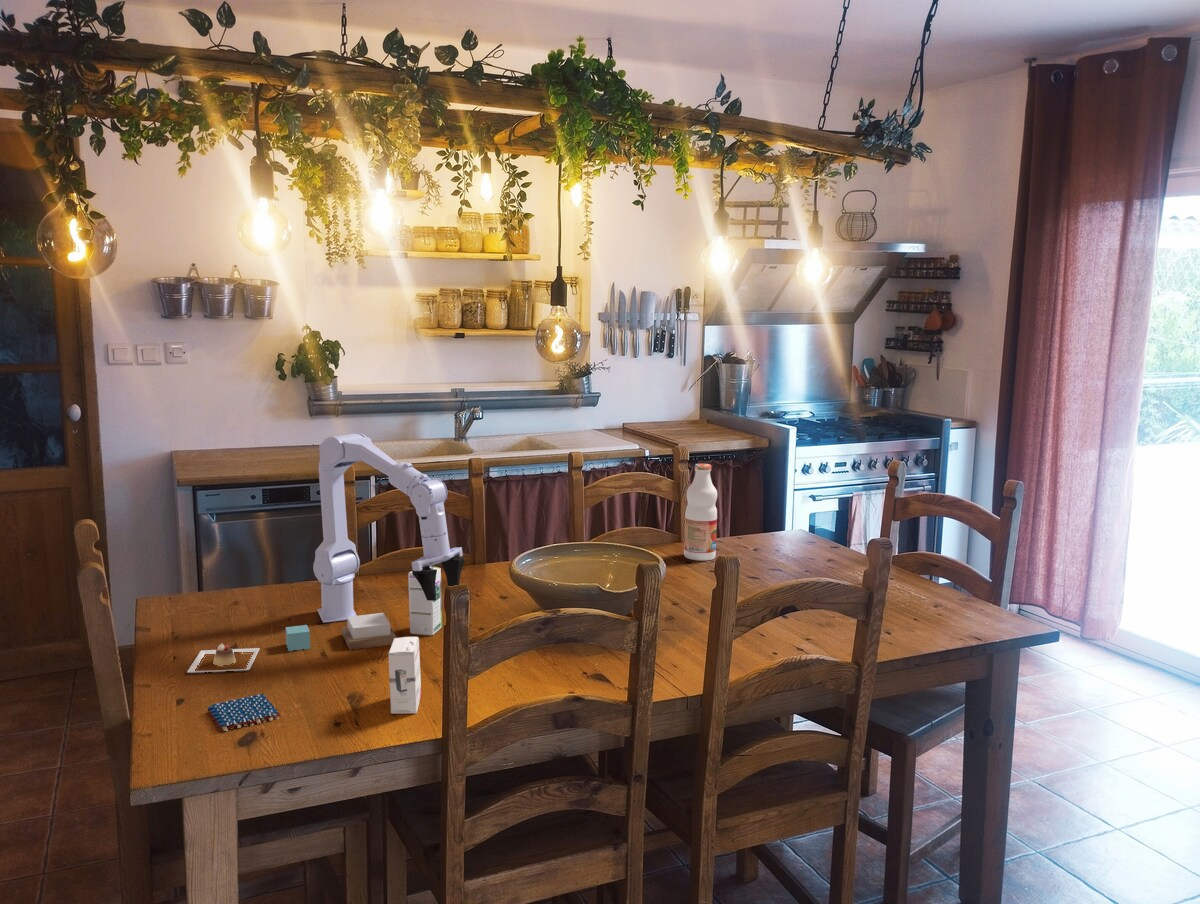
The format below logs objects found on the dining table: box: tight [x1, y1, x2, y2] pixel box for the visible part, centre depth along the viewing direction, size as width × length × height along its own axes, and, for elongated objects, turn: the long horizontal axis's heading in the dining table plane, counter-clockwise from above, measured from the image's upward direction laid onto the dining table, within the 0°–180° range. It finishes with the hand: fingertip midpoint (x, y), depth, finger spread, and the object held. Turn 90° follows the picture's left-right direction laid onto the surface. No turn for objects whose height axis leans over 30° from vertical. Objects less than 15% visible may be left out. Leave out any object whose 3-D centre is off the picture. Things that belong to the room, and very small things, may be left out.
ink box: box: [387, 636, 422, 715], centre depth 178 cm, size 9×5×12 cm, turn 5°
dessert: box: [186, 642, 261, 674], centre depth 197 cm, size 12×12×5 cm
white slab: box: [346, 612, 391, 639], centre depth 212 cm, size 8×8×2 cm
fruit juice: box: [683, 463, 718, 562], centre depth 283 cm, size 9×9×28 cm
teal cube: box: [285, 624, 311, 652], centre depth 207 cm, size 4×4×4 cm
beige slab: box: [341, 625, 397, 651], centre depth 212 cm, size 10×10×2 cm
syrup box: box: [407, 565, 443, 636], centre depth 217 cm, size 6×6×14 cm
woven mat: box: [207, 692, 281, 732], centre depth 173 cm, size 10×11×2 cm
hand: (442, 595), depth 210 cm, fingers open, 7 cm apart
